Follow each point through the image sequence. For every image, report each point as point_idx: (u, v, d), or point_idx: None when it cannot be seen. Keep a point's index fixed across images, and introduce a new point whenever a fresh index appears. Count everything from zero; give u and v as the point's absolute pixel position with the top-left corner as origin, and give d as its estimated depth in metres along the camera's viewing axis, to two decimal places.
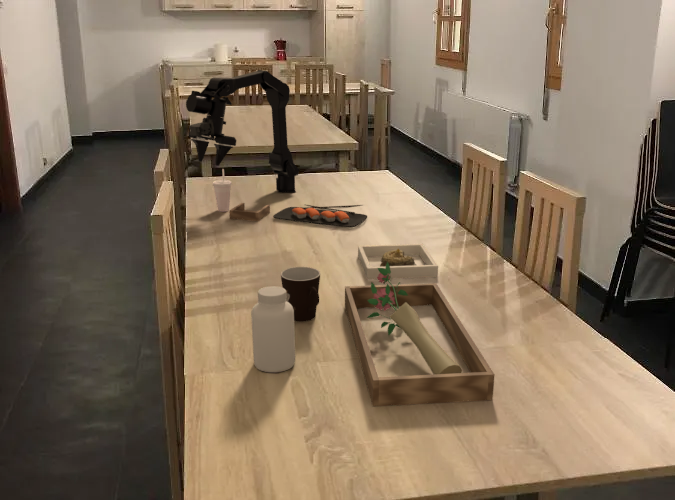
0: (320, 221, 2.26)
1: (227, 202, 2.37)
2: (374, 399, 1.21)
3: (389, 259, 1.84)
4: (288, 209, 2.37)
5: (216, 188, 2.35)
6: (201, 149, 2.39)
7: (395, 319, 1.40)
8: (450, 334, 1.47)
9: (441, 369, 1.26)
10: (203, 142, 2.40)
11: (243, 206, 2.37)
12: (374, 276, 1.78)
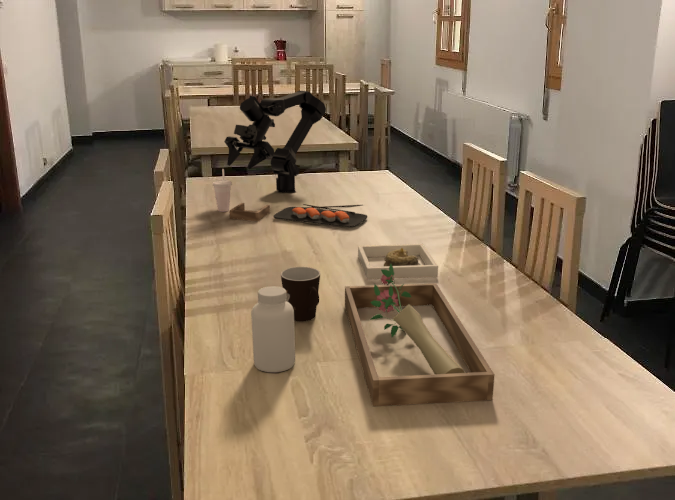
0: (320, 221, 2.26)
1: (227, 202, 2.37)
2: (374, 399, 1.21)
3: (393, 258, 1.84)
4: (288, 209, 2.37)
5: (216, 188, 2.35)
6: (233, 155, 2.45)
7: (398, 321, 1.39)
8: (450, 334, 1.47)
9: (444, 372, 1.25)
10: (236, 150, 2.47)
11: (243, 206, 2.37)
12: (374, 276, 1.78)
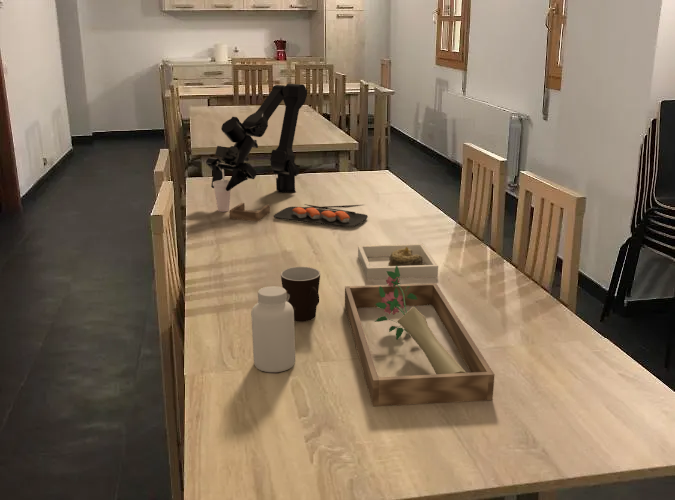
0: (320, 221, 2.26)
1: (227, 202, 2.37)
2: (374, 399, 1.21)
3: (398, 257, 1.85)
4: (288, 209, 2.37)
5: (216, 188, 2.35)
6: (217, 177, 2.39)
7: (403, 323, 1.38)
8: (450, 334, 1.47)
9: None
10: (221, 172, 2.41)
11: (243, 206, 2.37)
12: (374, 276, 1.78)
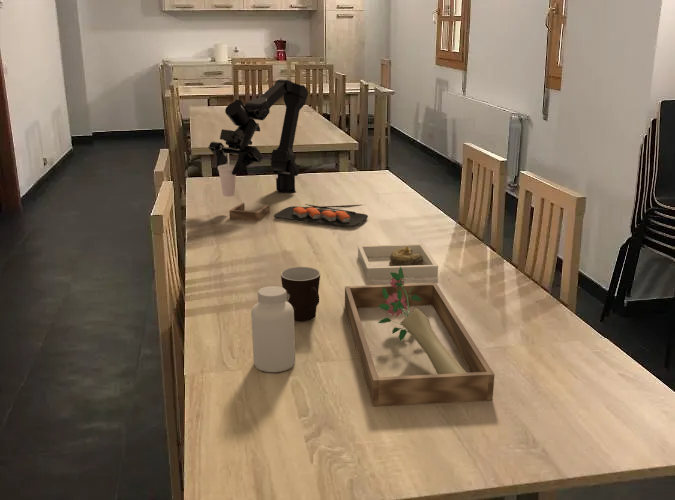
0: (321, 221, 2.26)
1: (233, 187, 2.34)
2: (374, 399, 1.21)
3: (398, 257, 1.85)
4: (289, 209, 2.37)
5: (222, 172, 2.31)
6: (221, 161, 2.35)
7: (406, 325, 1.37)
8: (450, 334, 1.47)
9: None
10: (224, 156, 2.37)
11: (243, 206, 2.37)
12: (374, 276, 1.78)
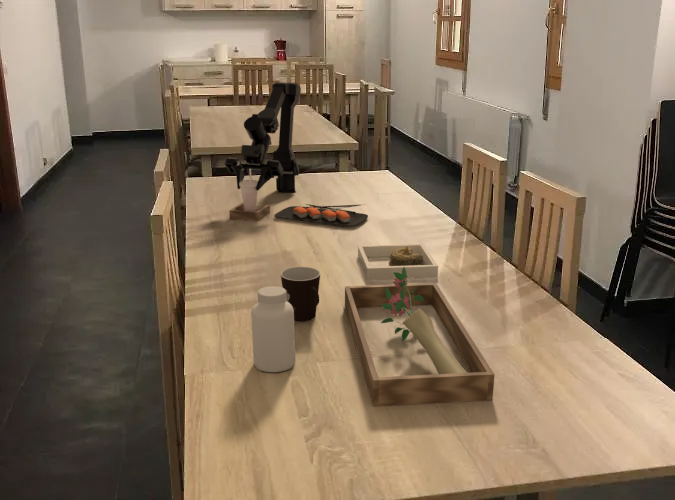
0: (321, 220, 2.26)
1: (255, 202, 2.31)
2: (374, 399, 1.21)
3: (398, 257, 1.85)
4: (289, 208, 2.38)
5: (245, 189, 2.27)
6: (240, 177, 2.31)
7: (408, 325, 1.37)
8: (450, 334, 1.47)
9: None
10: (242, 172, 2.33)
11: (243, 206, 2.37)
12: (374, 276, 1.78)
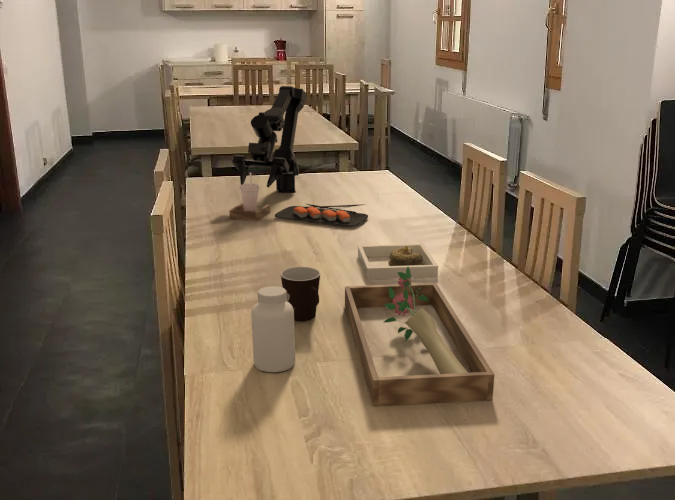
0: (321, 220, 2.27)
1: (256, 206, 2.31)
2: (374, 399, 1.21)
3: (398, 256, 1.86)
4: (289, 208, 2.38)
5: (246, 192, 2.28)
6: (244, 174, 2.37)
7: (410, 325, 1.37)
8: (450, 334, 1.47)
9: None
10: (245, 169, 2.39)
11: None
12: (374, 276, 1.78)
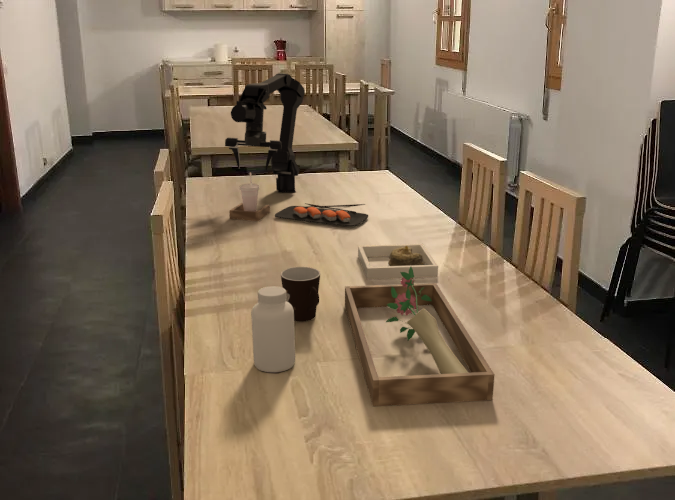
0: (321, 220, 2.27)
1: (256, 206, 2.31)
2: (374, 399, 1.21)
3: (398, 256, 1.86)
4: (290, 208, 2.38)
5: (246, 192, 2.28)
6: (238, 156, 2.40)
7: (412, 325, 1.37)
8: (450, 334, 1.47)
9: None
10: (238, 149, 2.41)
11: None
12: (374, 276, 1.78)
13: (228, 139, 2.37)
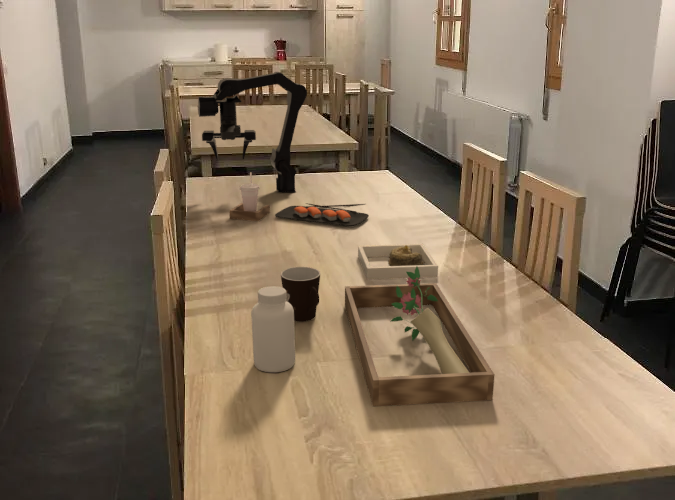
0: (321, 220, 2.27)
1: (256, 206, 2.31)
2: (374, 399, 1.21)
3: (397, 255, 1.86)
4: (290, 208, 2.38)
5: (246, 192, 2.28)
6: (216, 148, 2.53)
7: (415, 324, 1.37)
8: (450, 334, 1.47)
9: None
10: (215, 141, 2.53)
11: None
12: (374, 276, 1.78)
13: (204, 134, 2.49)
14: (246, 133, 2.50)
